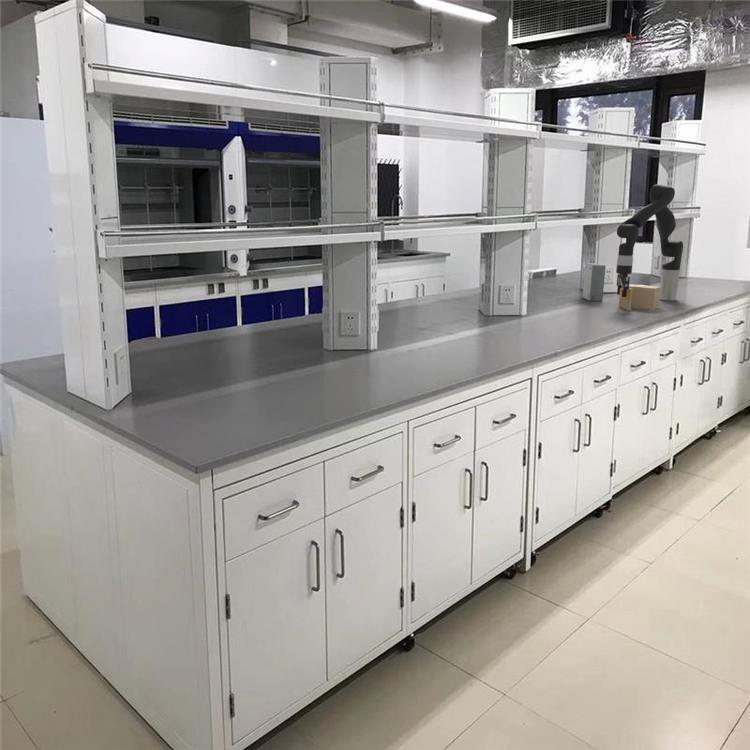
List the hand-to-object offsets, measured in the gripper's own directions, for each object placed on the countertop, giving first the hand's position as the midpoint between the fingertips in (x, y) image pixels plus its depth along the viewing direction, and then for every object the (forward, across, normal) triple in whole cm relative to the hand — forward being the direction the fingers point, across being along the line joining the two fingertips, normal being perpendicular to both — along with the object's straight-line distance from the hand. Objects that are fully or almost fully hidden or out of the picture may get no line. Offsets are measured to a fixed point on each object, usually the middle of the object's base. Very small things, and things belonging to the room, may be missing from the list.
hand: (621, 295), depth 368 cm
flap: (+7, +5, -1) cm, 9 cm away
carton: (+8, +13, -13) cm, 20 cm away
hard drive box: (+8, +39, +5) cm, 40 cm away
